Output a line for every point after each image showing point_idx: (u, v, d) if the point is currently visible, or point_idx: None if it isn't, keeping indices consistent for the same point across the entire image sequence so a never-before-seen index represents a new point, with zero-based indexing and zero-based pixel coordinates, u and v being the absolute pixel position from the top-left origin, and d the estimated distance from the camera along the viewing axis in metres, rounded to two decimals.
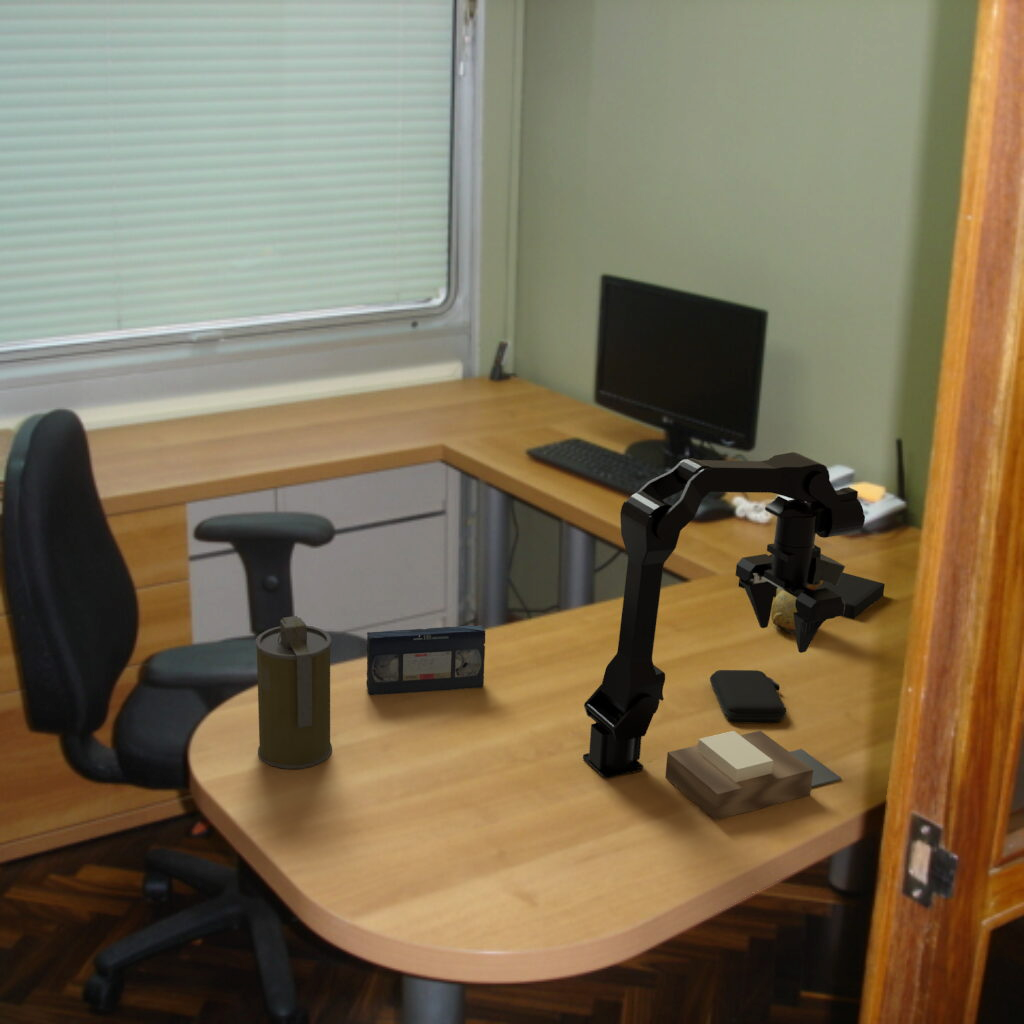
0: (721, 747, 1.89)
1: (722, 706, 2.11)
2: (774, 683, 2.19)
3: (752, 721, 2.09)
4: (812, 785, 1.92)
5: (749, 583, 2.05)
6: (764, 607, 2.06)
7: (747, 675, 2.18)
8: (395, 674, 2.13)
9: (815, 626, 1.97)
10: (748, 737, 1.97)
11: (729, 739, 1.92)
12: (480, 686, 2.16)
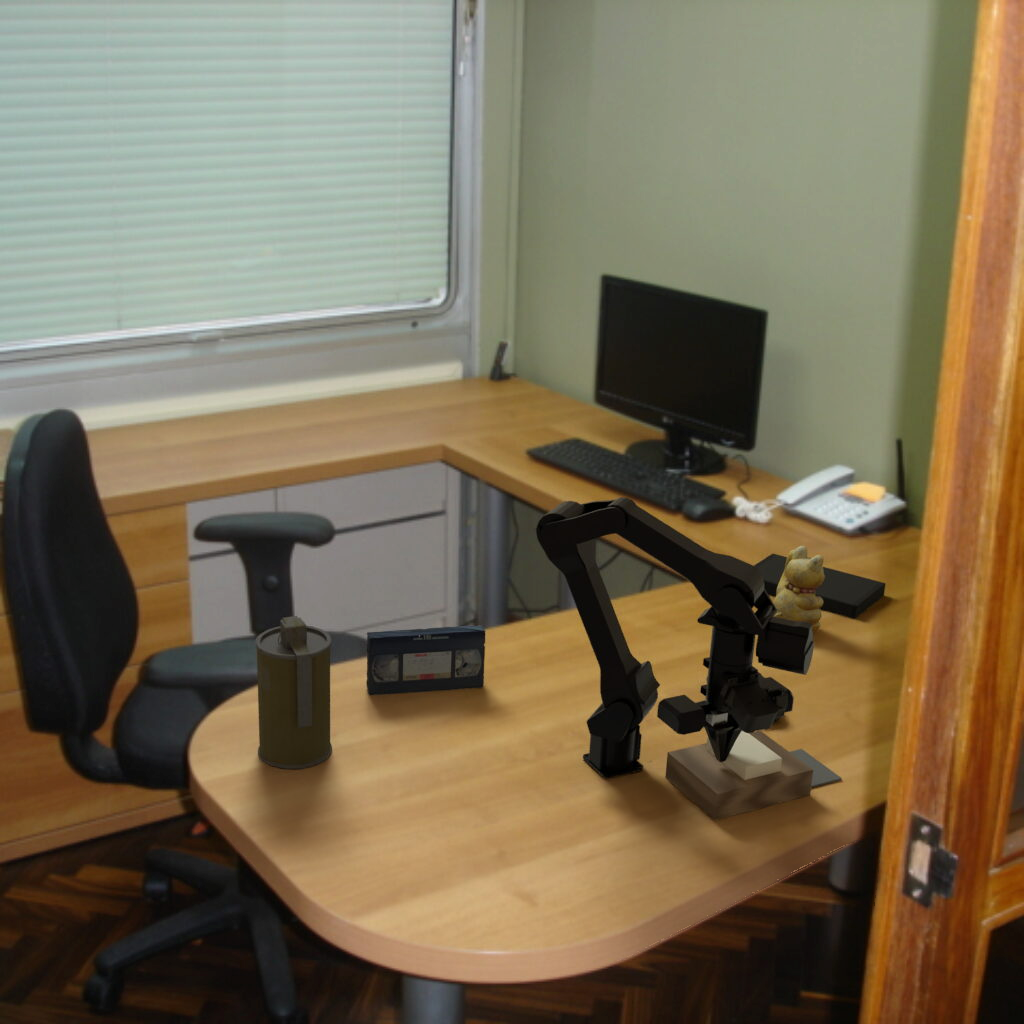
0: None
1: None
2: None
3: None
4: (812, 785, 1.92)
5: None
6: None
7: None
8: (395, 674, 2.13)
9: (717, 735, 1.85)
10: None
11: (738, 737, 1.92)
12: (480, 686, 2.16)
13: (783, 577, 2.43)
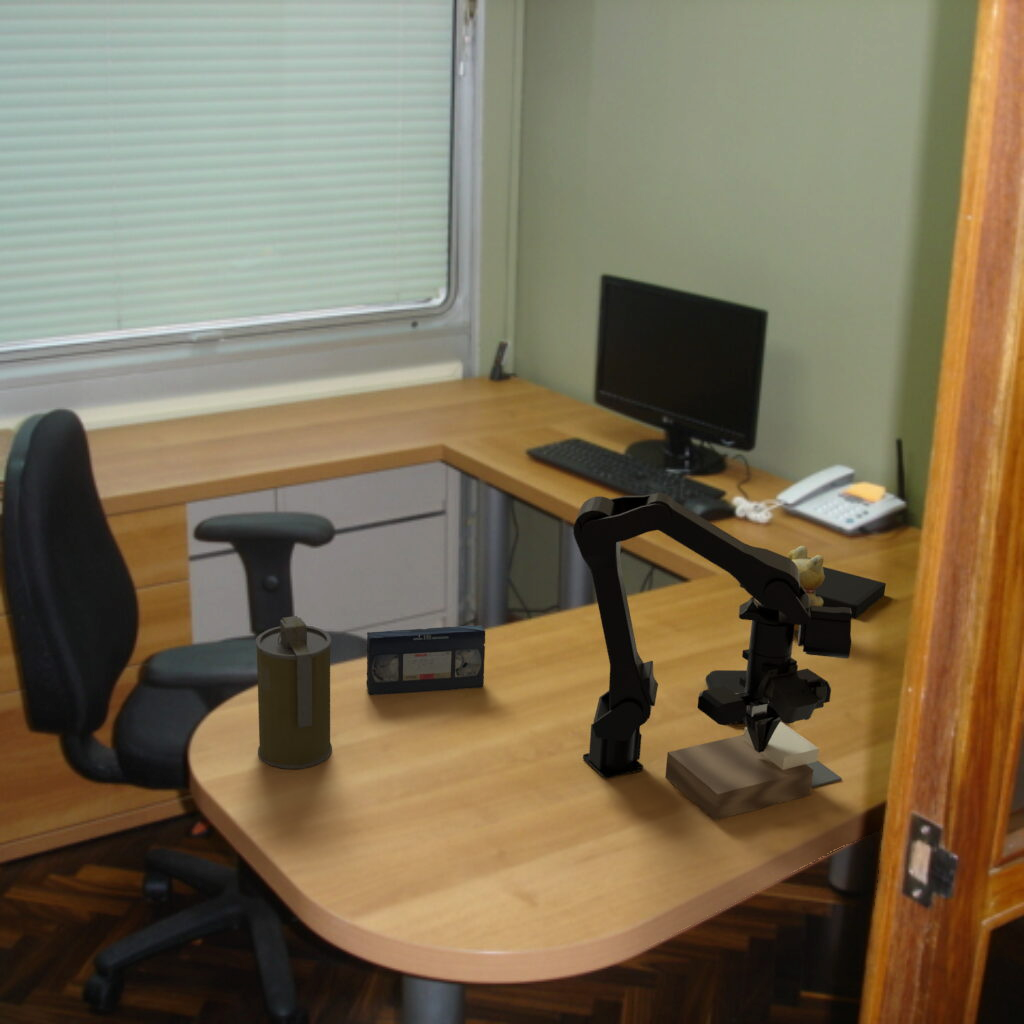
0: None
1: None
2: None
3: None
4: (812, 785, 1.92)
5: None
6: None
7: (742, 675, 2.18)
8: (395, 674, 2.13)
9: (756, 726, 1.88)
10: None
11: None
12: (480, 686, 2.16)
13: None
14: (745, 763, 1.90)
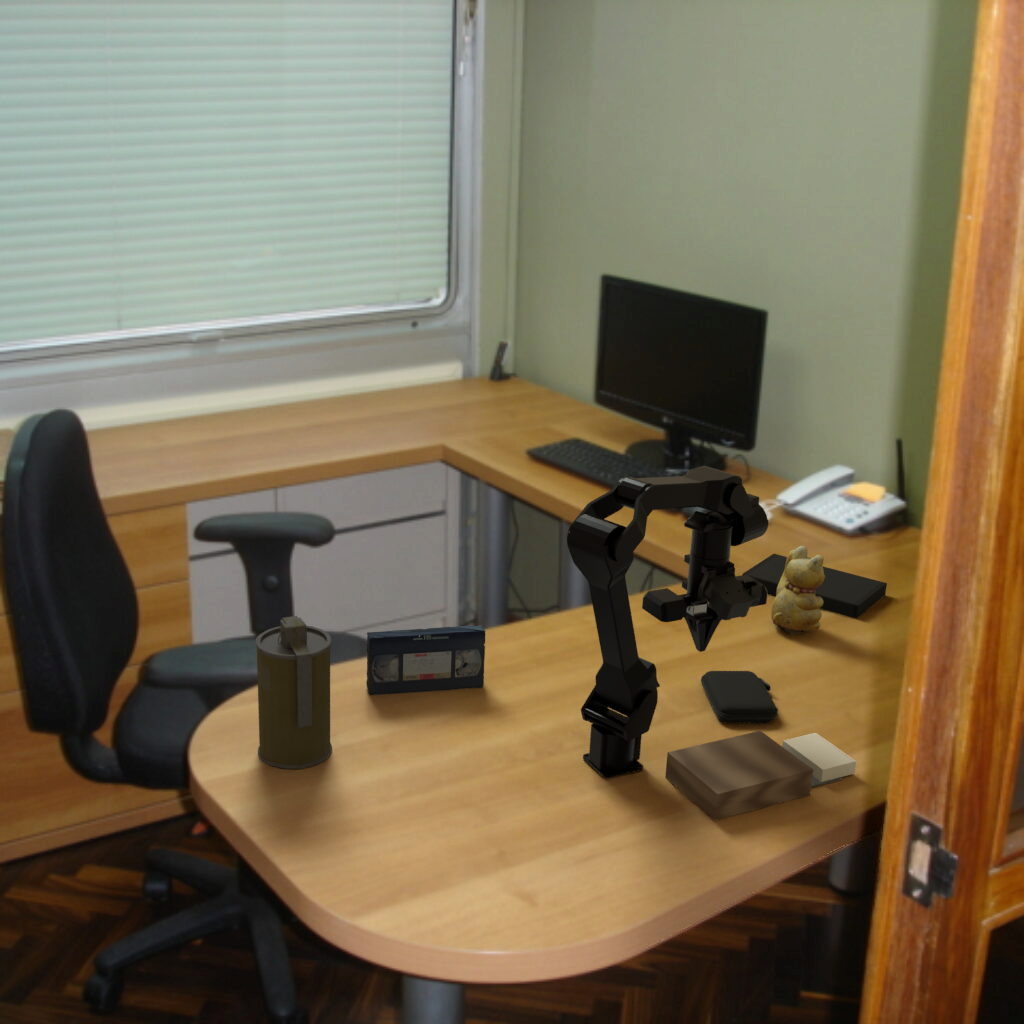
0: None
1: (714, 707, 2.11)
2: (765, 683, 2.19)
3: (744, 722, 2.09)
4: (812, 785, 1.92)
5: None
6: None
7: (737, 676, 2.18)
8: (395, 674, 2.13)
9: (697, 626, 2.02)
10: (748, 737, 1.97)
11: None
12: (480, 686, 2.16)
13: (783, 577, 2.43)
14: (745, 763, 1.90)
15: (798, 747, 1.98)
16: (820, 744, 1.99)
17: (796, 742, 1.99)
